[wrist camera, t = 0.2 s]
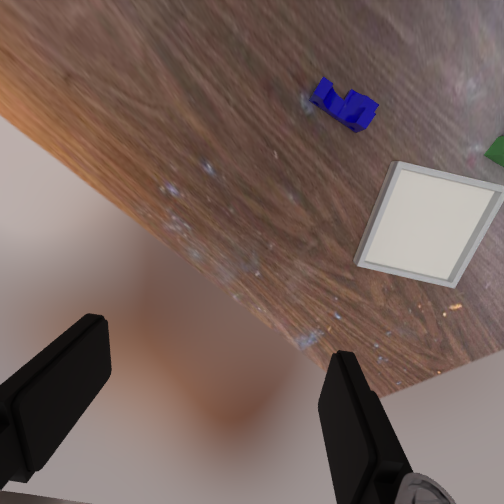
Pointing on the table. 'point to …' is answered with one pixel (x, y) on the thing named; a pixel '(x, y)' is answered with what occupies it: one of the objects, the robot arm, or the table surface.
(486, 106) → the table surface
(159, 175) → the table surface
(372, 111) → the cable holder
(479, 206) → the tray
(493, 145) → the green cradle stand
